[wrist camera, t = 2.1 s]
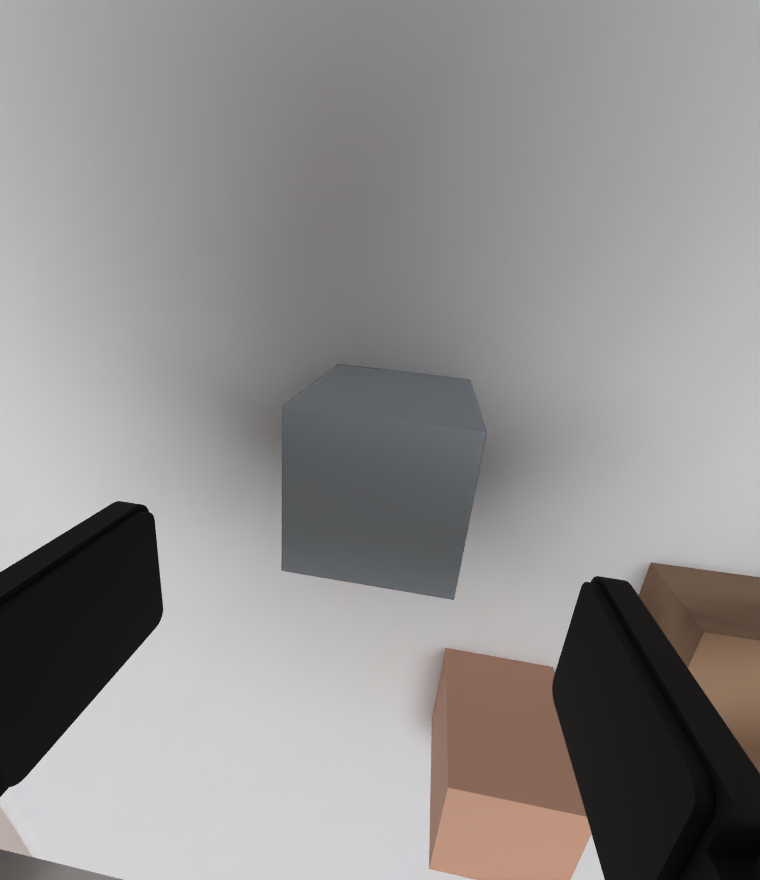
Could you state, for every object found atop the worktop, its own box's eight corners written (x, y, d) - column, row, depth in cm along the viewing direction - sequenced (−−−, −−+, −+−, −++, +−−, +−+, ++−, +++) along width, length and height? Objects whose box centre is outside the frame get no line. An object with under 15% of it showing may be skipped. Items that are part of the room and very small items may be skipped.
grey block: (338, 363, 16) (282, 405, 10) (469, 379, 15) (486, 432, 10) (332, 480, 18) (281, 570, 12) (449, 498, 17) (454, 599, 12)
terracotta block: (445, 647, 20) (448, 787, 14) (552, 666, 19) (598, 819, 14) (432, 719, 22) (429, 869, 16) (529, 738, 21) (561, 899, 16)
